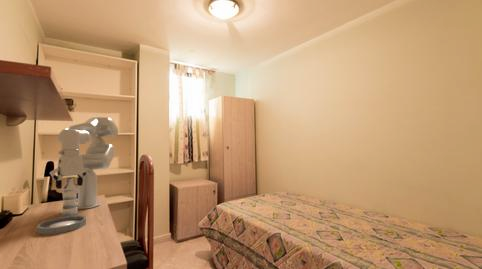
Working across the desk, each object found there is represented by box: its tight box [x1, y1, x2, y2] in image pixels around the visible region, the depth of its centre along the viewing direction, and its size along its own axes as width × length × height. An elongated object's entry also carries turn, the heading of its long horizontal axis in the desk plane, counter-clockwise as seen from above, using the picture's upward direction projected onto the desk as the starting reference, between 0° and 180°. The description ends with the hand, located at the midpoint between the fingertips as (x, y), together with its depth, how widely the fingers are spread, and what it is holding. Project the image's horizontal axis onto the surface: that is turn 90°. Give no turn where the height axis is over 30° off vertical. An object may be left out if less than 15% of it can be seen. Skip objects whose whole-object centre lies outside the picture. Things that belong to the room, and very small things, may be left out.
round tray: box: [36, 214, 87, 236], centre depth 102 cm, size 17×17×2 cm
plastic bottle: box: [61, 176, 79, 217], centre depth 117 cm, size 6×7×20 cm
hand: (69, 186), depth 117 cm, fingers open, 9 cm apart
